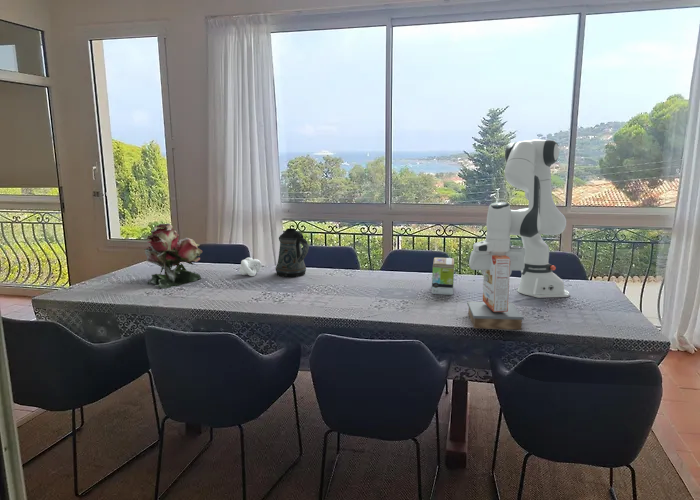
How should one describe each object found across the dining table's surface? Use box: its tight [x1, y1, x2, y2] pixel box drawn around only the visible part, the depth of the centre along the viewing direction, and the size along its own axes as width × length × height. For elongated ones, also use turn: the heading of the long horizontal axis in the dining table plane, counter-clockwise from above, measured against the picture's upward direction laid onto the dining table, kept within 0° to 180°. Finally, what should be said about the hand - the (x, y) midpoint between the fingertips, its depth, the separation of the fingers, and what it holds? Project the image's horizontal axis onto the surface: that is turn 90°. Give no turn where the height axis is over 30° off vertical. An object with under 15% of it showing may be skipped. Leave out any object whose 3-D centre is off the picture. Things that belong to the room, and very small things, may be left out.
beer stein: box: [275, 227, 310, 279], centre depth 266 cm, size 16×19×25 cm
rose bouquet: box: [144, 222, 203, 290], centre depth 254 cm, size 26×29×30 cm
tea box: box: [431, 257, 455, 296], centre depth 234 cm, size 15×10×15 cm
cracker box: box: [482, 255, 511, 312], centre depth 189 cm, size 14×6×21 cm, turn 1°
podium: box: [467, 301, 525, 330], centre depth 191 cm, size 18×18×5 cm
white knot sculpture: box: [239, 257, 262, 277], centre depth 267 cm, size 11×12×9 cm
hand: (495, 281), depth 189 cm, fingers closed on cracker box, 6 cm apart
